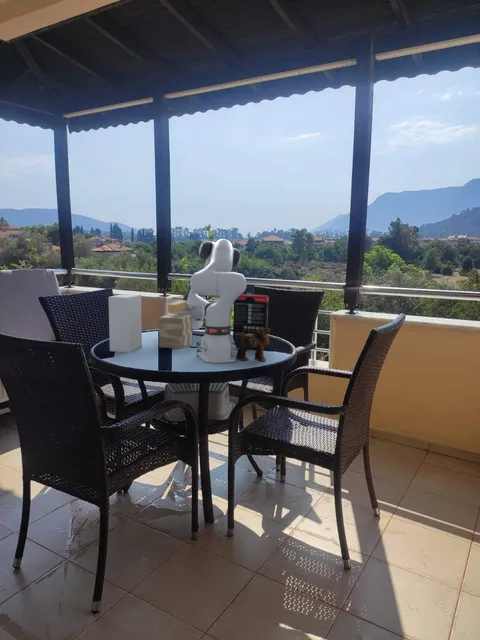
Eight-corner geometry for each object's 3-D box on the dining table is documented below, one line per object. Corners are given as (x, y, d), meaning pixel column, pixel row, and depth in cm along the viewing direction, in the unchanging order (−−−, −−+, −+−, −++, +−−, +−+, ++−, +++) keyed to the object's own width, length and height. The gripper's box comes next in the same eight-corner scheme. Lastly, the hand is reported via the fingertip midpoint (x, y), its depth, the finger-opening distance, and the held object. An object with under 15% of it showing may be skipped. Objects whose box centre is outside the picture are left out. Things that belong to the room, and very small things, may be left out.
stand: (123, 345, 223) (122, 294, 219) (141, 346, 221) (141, 295, 217) (109, 351, 210) (108, 296, 206) (129, 352, 208) (128, 297, 204)
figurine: (269, 363, 193) (270, 329, 191) (234, 361, 194) (235, 328, 192) (269, 358, 202) (270, 325, 200) (237, 356, 204) (237, 324, 201)
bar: (181, 307, 237) (180, 300, 237) (188, 308, 236) (188, 300, 236) (168, 312, 219) (168, 304, 218) (175, 312, 218) (175, 304, 217)
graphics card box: (267, 347, 224) (269, 294, 220) (265, 350, 218) (266, 295, 214) (235, 345, 228) (236, 293, 224) (232, 348, 222) (232, 294, 218)
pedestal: (170, 341, 236) (170, 313, 233) (192, 342, 233) (192, 314, 231) (159, 347, 220) (159, 317, 218) (182, 348, 218) (182, 318, 216)
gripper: (172, 308, 249) (164, 298, 236) (207, 309, 244) (201, 299, 232) (170, 318, 246) (162, 308, 234) (205, 320, 242) (199, 310, 230)
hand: (182, 304), depth 233 cm, fingers closed on bar, 4 cm apart
